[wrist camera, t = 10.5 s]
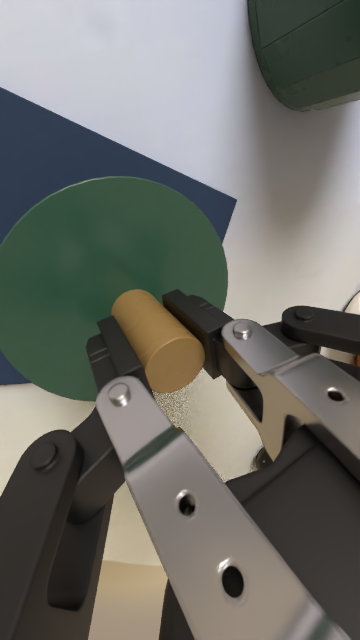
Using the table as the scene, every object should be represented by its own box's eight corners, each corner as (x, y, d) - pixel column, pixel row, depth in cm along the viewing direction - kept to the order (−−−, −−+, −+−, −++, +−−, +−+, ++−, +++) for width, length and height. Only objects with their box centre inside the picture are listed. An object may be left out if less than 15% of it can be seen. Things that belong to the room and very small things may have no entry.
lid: (-10, 399, 11) (-40, 535, 7) (-8, 118, 7) (-75, 21, 3) (185, 380, 17) (234, 445, 13) (243, 221, 13) (341, 239, 9)
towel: (-36, 383, 13) (-38, 388, 13) (-49, 66, 8) (-53, 61, 8) (176, 369, 21) (178, 371, 20) (233, 199, 16) (237, 199, 16)
